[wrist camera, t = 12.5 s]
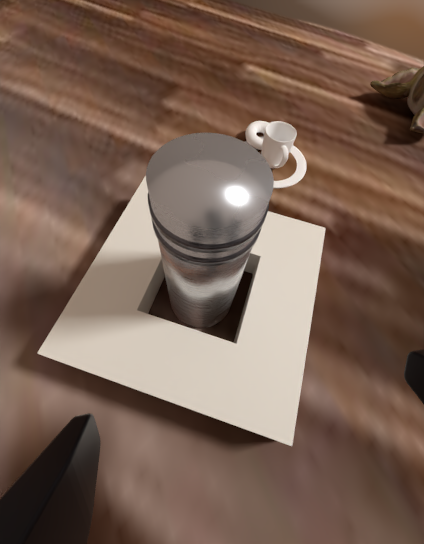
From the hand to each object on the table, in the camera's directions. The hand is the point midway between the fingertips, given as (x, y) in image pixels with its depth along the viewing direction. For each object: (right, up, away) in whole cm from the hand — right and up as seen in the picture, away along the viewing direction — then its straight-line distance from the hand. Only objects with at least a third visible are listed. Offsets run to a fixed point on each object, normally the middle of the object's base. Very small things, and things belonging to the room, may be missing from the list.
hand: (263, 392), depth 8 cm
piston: (-2, +1, +15) cm, 15 cm away
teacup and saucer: (+7, +17, +24) cm, 31 cm away
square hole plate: (-2, +1, +15) cm, 15 cm away
